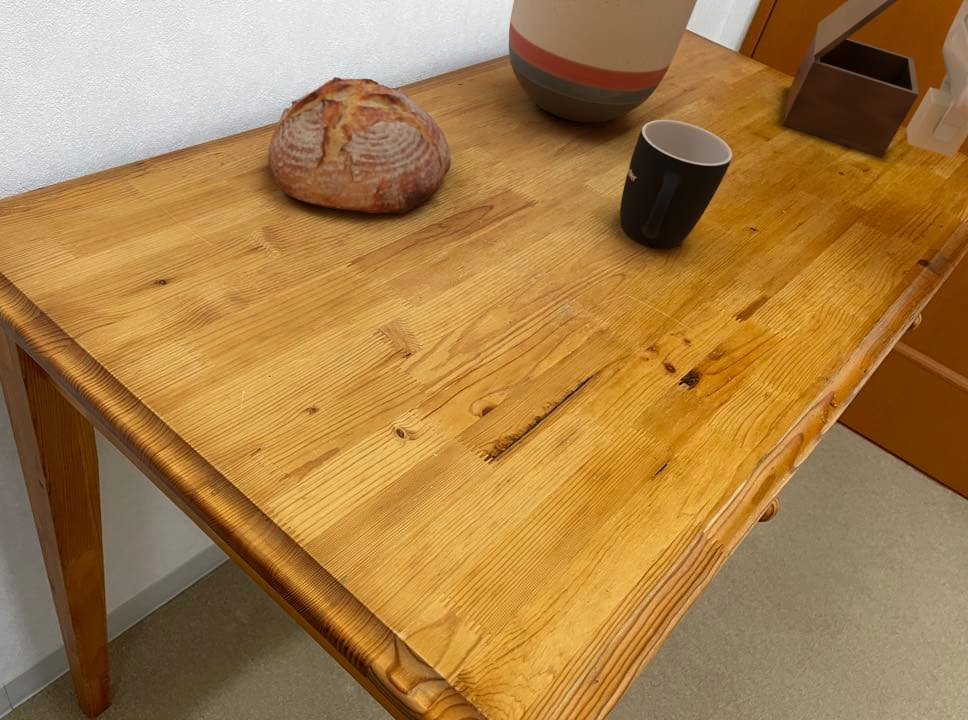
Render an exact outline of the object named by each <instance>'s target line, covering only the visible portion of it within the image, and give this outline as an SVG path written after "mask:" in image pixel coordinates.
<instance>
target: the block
mask: <svg viewBox="0 0 968 720" xmlns="http://www.w3.org/2000/svg"><path fill="white" fill-rule="evenodd" d="M952 100H953V96H952V93H948V92H945V91H942V90H940V89H938V88H934V87H931V86H930V87H929V88H928V90H927V92H926V93H925V95H924V97H923V98H922V100H921V102H920V104H919V105H918V107H917V109H916V111H915V113H914V114H913V116H912V118H911V119H910V121H909V123H908V125H907V126H906V136H907V137H906V138H907V144H908V145H910V146H913V147H916V148H919V149H923V150H925V151H929V152H933V153H936V154H939V155H942V156H946V157H949V158H952V159H953V158H955V156H956V154H957V152H958V151H959V149H960V148H961V146H962V145H963V143H964V141H965V140H966V139H967V137H968V121H967V122H966V123H965V124H964V125H963V126H962V127H961V128H959V130H958V132H957V133H956V135H955V136H954V138H953V140H952V141H951V142H948V143H945V142H941V141H938V140H935V139H934V137H933V130H934V128H935V126H936V125H937V123H938V121H939V119H940V118H943V116H944V115H945V113H946V112H947V110H948V109H949V107H950V103H951V101H952Z"/></svg>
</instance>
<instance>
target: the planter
mask: <svg viewBox="0 0 968 720" xmlns="http://www.w3.org/2000/svg"><path fill="white" fill-rule="evenodd" d="M697 1H698V0H513V2H512V8H511V13H510V19H509V28H508V55H509V60H510V66H511V68H512V72H513V74H514V76H515V78H516V80H517V83H518V84H519V86H520V87H521V88H522V90H523V91H524V93H525V94H526V95H527V96H528V97H529V98H530V100H531V101H532V102H534V103H535V104H536V105H537V106H538V107H540V108H541V109H543V110H544V111H546V112H548V113H550V114H551V115H552V114H553V115H554V116H556V117H559V118H562V119H565V120H569V121H573V122H578V123H600V122H601V123H602V122H607V121H611V120H613V119H617V118H620V117H622V116H625V115H626V114H628V113H630V112H632V111H633V110H636V109H637V108H638V107H640V106H641V105H643V104H644V103H645V102H646V101H647V100H648V99H649V98H650V97H651V96H652V94H653V93H654V92H655V91H656V89H657V88H658V87H659V85H660V84H661V82H662V80H663V78H664V77H665V75H666V74H667V72H668V70H669V68H670V66H671V64H672V62H673V60H674V57H675V54H676V53H677V50H678V48H679V46H680V44H681V41H682V39H683V36H684V34H685V32H686V30H687V27H688V25H689V22H690V19H691V17H692V15H693V12H694V9H695V6H696V4H697Z"/></svg>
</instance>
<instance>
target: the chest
mask: <svg viewBox="0 0 968 720" xmlns="http://www.w3.org/2000/svg"><path fill="white" fill-rule="evenodd" d="M816 35H817V31H816V32H815V34H814V36H813V39H812V41H811V43H810V45H809V47H808V48H807V51H806V53H805V56H804V57H803V59H802V61H801V63H800V66H799V68H798V70H797V72H796V74H795V76H794V77H793V78H794V79H793V80H792V81H791V82H792V83H791V85H790V87H789V90H788V95H787V101H786V105H785V111H784V115H783V122H782V126H783V127H787V128H790V129H793V130H796V131H799V132H802V133H805V134H808V135H810V136H814V137H818V138H821V139H824V140H826V141H830V142H833V143H835V144H839V145H842V146H845V147H848V148H851V149H854V150H857V151H860V152H863V153H866V154H870V155H872V156H876V157H880V158H883V157H884V155H885V154H886V152H887V150H888V148H889V147H890V145H891V143H892V142H893V140H894V138H895V136H896V135H897V134H898V131H899V129H900V127H902V125H903V123H904V121H905V119H906V118H907V116H908V114H909V113H910V111H911V110H912V107H913V106H914V104H915V103H916V100H917V99H918V97H919V95H920V93H919V86H918V80H917V74H916V67H915V62H914V58H913V57H911V56H907V55H903V54H900V53H897V52H894V51H890V50H887V49H884V48H880V47H877V46H875V45H871V44H867V43H864V42H861V41H857V40H854V39H852V38H851V39H850V38H849V37H848V38H847V39H845V40H844V41H843V42H841V43H840V44H839V45H837V46H836V47H834V48H833V49H832V50H830V51H829V52H828V53H826V54H825V55H824V56H822V57H821V58H820V59H818V60H816V58H815V57H814V50H815V42H816Z"/></svg>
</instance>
